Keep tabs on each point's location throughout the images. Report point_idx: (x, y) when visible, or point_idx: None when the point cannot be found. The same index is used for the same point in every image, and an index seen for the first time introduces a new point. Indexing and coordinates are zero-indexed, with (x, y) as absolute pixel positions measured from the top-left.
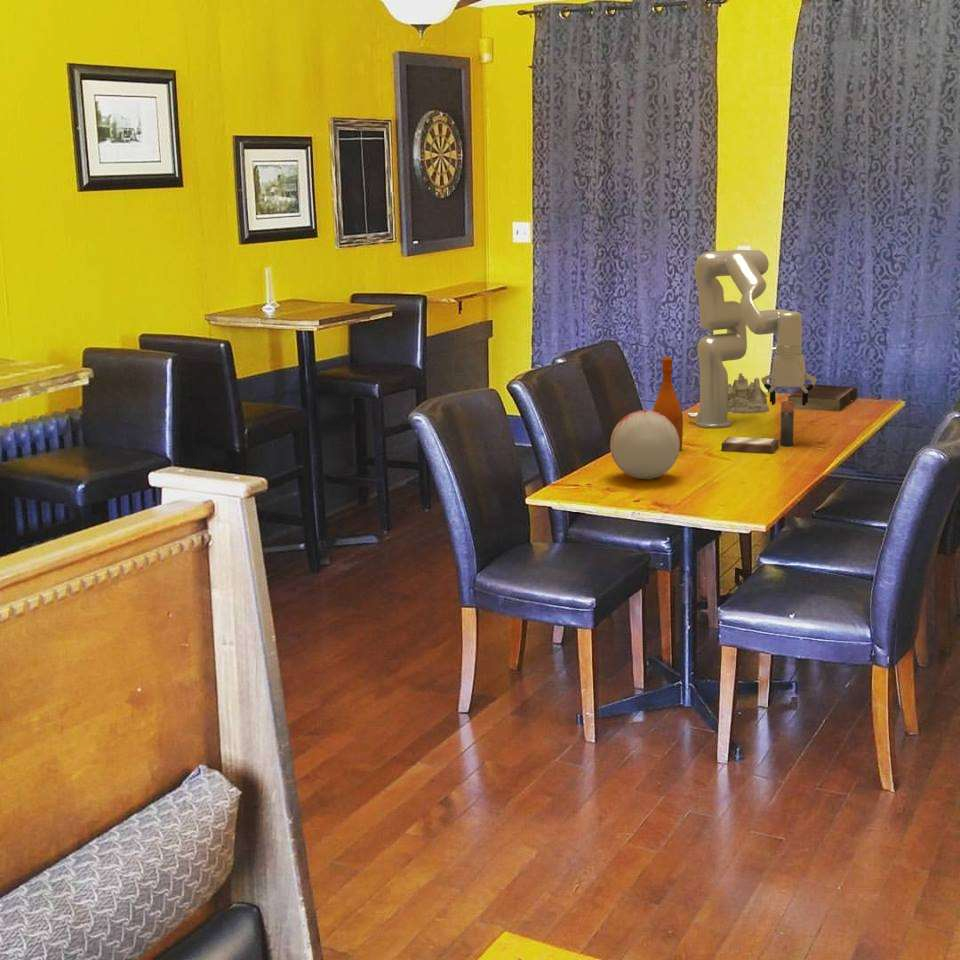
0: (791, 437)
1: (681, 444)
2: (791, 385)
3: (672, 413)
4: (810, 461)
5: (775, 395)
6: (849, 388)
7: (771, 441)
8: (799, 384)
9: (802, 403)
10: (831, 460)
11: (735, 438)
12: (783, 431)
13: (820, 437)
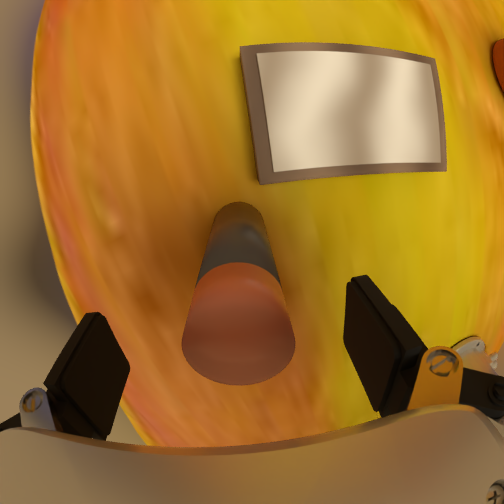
0: (212, 227)
1: (501, 62)
2: (101, 466)
3: None
4: (85, 28)
5: (364, 386)
6: None
7: (270, 111)
8: (6, 449)
9: (95, 321)
10: (37, 79)
11: (422, 132)
12: (246, 220)
13: (184, 365)
